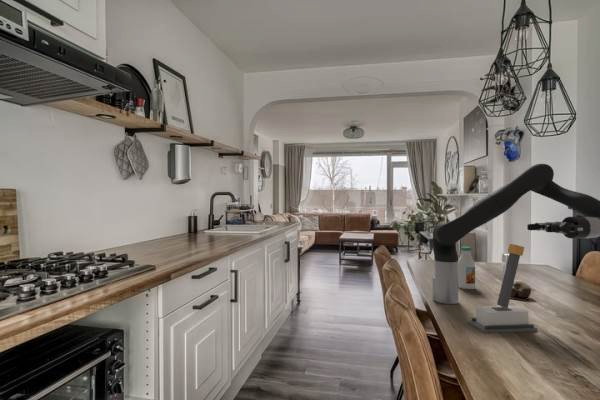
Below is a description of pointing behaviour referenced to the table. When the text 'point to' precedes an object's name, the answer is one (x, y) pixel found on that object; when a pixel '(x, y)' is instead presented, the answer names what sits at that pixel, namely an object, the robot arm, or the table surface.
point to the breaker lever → (509, 274)
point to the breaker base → (501, 319)
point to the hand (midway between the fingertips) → (537, 227)
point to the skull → (520, 290)
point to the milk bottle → (466, 269)
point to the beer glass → (505, 262)
